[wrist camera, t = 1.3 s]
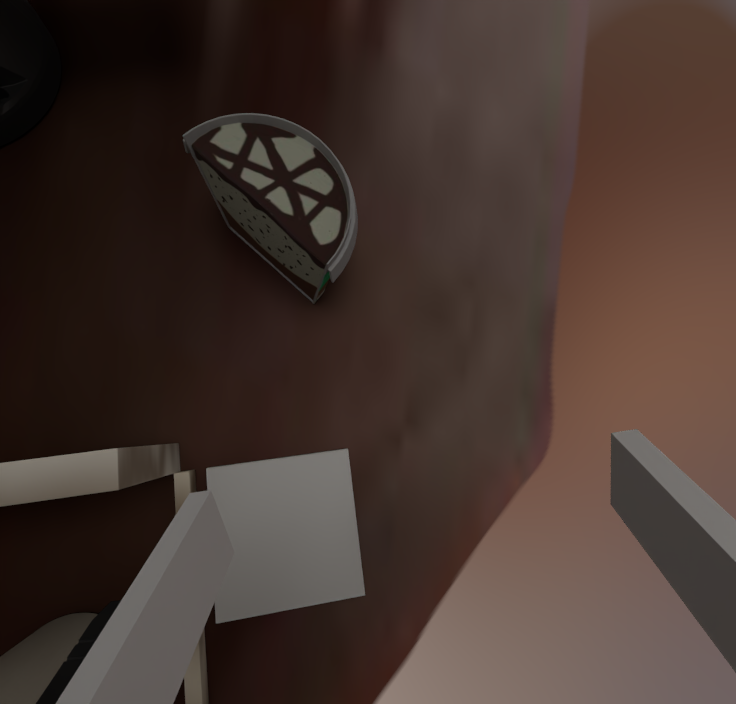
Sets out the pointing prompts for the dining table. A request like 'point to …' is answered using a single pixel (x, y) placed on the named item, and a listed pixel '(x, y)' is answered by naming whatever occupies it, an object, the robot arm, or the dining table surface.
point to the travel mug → (39, 658)
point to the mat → (287, 533)
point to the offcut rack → (103, 475)
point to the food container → (279, 194)
